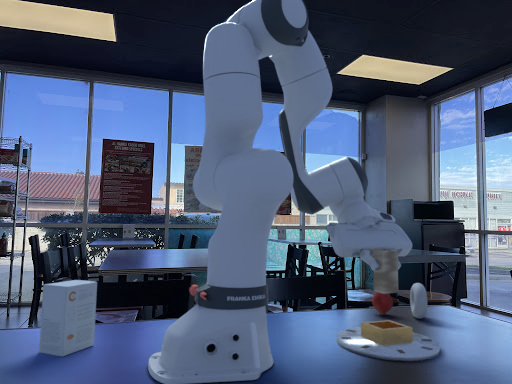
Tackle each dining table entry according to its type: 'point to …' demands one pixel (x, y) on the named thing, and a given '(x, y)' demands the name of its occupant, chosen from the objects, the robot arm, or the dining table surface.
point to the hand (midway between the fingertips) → (387, 268)
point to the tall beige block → (386, 271)
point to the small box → (68, 317)
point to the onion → (382, 302)
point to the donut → (418, 300)
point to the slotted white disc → (388, 341)
